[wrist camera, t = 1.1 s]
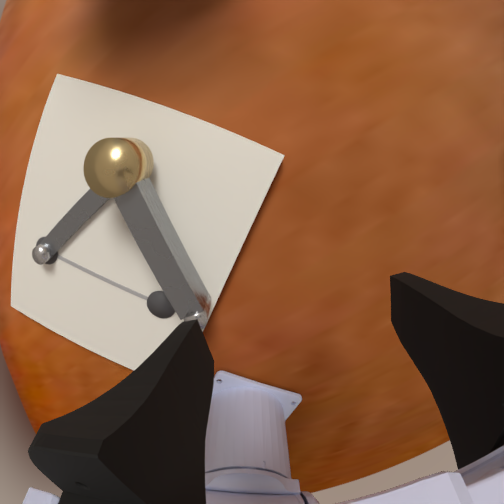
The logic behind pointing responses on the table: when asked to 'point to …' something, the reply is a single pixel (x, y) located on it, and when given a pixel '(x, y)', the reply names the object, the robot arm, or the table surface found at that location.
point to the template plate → (114, 226)
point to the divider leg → (147, 221)
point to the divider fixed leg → (68, 226)
